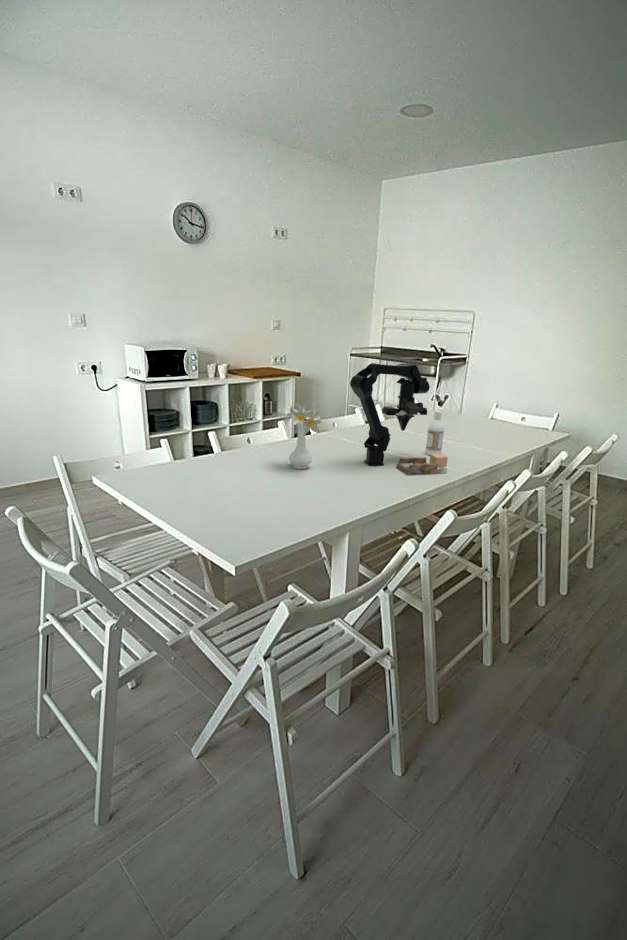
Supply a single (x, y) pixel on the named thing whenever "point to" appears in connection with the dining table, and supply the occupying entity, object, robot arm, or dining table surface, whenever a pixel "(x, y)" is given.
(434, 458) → the block
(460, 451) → the dining table surface
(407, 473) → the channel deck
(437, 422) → the bath foam
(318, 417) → the flower vase
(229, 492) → the dining table surface
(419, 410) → the robot arm
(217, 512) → the dining table surface
